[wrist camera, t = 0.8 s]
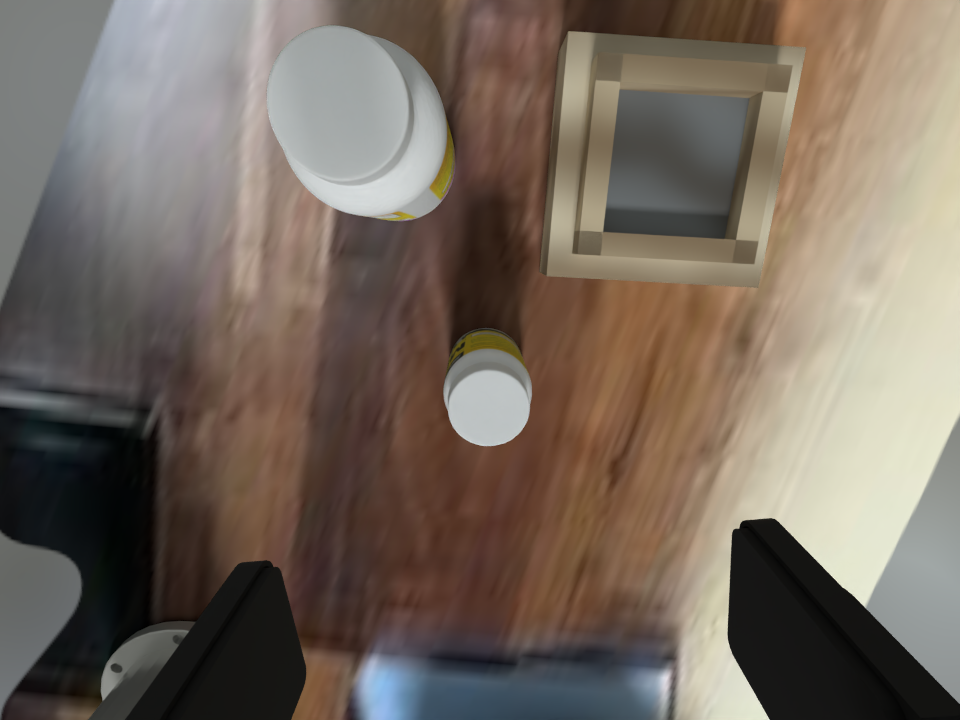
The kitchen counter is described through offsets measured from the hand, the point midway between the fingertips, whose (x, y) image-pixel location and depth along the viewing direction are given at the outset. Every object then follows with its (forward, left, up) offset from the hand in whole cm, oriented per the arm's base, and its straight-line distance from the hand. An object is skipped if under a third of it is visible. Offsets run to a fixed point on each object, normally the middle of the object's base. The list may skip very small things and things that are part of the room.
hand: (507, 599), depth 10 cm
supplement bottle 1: (+11, +6, -22) cm, 25 cm away
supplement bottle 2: (-1, 0, -22) cm, 22 cm away
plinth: (+11, -9, -22) cm, 26 cm away
